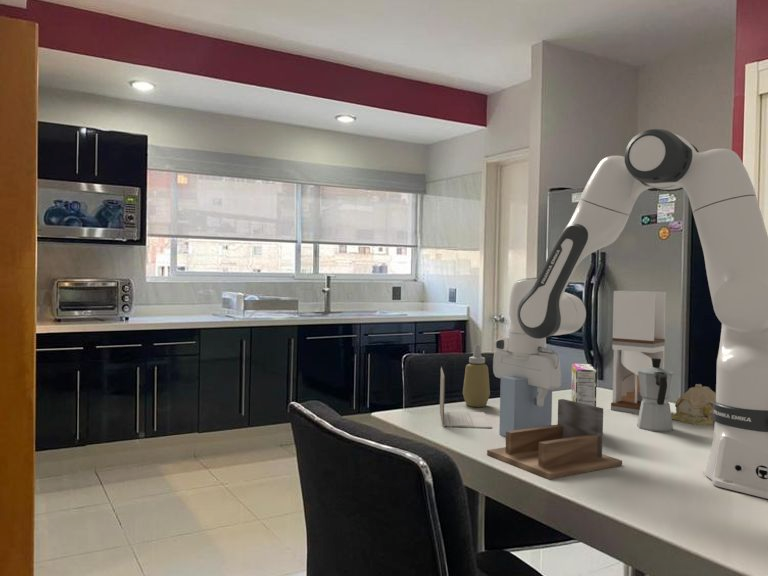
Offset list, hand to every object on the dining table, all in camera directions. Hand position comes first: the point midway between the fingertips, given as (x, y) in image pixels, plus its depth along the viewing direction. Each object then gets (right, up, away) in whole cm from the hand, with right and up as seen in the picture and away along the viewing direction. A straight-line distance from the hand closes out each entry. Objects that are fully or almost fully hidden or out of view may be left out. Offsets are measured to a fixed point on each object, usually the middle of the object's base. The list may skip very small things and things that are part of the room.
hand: (524, 401), depth 148 cm
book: (0, -8, 0) cm, 8 cm away
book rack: (+1, -8, -22) cm, 23 cm away
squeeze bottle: (-7, -8, +34) cm, 35 cm away
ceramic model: (+53, -9, +20) cm, 57 cm away
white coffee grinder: (+40, -9, +32) cm, 52 cm away
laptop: (-13, -8, +14) cm, 21 cm away
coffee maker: (+35, -9, +9) cm, 38 cm away
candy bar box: (+15, -8, +2) cm, 17 cm away
